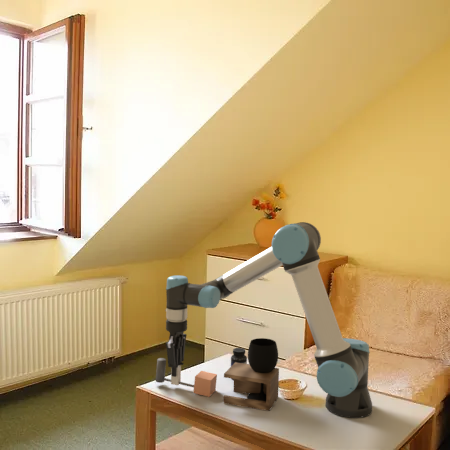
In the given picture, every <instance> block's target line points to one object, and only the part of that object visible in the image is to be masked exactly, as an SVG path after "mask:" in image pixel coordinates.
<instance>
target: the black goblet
mask: <svg viewBox="0 0 450 450" xmlns="http://www.w3.org/2000/svg"><path fill="white" fill-rule="evenodd" d="M278 360H279V350H278V344H277V341H276V340H274V339H272V338H271V339H270V338H264V337H262V338H259V337H258V338H254V339H251V340H250V343H249V346H248V349H247V363H248V364H250V366H251V368H252V369H253V370H254V371H255V372H258V373H269V372H271V371H272V370H273V369H274V368H277V364H278ZM246 399H252V400H259V401H265V402H266V394H264V383H261V390H260V393H250V394H247V396H246ZM277 399H278V398H277ZM277 399H276V400H275V403H276V402H277Z"/></svg>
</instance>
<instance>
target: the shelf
mask: <svg viewBox="0 0 450 450" xmlns="http://www.w3.org/2000/svg"><path fill="white" fill-rule="evenodd" d="M279 377H280V368H279V367H275V368H274V369H273V370H272V371H271V372H269V373H258V372H255V371H254V370H253V369H252V368H251V366H250V364H249V363H247V364H244V363H236V362H235V363H234V364H233V365H232V366H231V365H230V367H229V368H228V369H227V370H226V371H225V372H224V373H223V378H225V379H226V378H227V379H231V378H232V379H231V380H233V379H234V380H233V392H236V393H241V394H247V395H248V394H250V393H260V390H261V383H264V394H266V402H265V401H259V400H252V399H247V397H239V396H233V395H226V394H225V395H223V402H222V403H223V404H224V405H225V404H227V405H232V406H238V407H244V408H249V409H256V410H261V411H267V412H270V411H271V410H272V408H273V406H274V404H275V403H276V402H275V400H276V399H278V398H279V386H280V385H279V383H280V382H279V381H280V380H279V379H280V378H279ZM276 401H277V400H276Z"/></svg>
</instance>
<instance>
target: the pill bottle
mask: <svg viewBox="0 0 450 450" xmlns="http://www.w3.org/2000/svg"><path fill="white" fill-rule="evenodd" d="M245 354H246V349H245V348H242V347H235V348H233V349H232V355H231V356H230V367H231V366H232V365H233V364H234V363H235V362H236V363H244V364H248V356H247V355H245ZM230 379H231V380H233V381H234V379H232V378H230Z"/></svg>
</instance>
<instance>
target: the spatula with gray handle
mask: <svg viewBox="0 0 450 450" xmlns="http://www.w3.org/2000/svg"><path fill="white" fill-rule="evenodd" d="M166 365H167V359H166V358H164V357H159V358H157V359H156V371H155V372H156V373H155V382H156V383H162V384H163V383H164V382H165V381H166V382H168V383H169V382H170V383H171V378H166ZM217 377H218V374H217V373H213V372H209V371H205V370H200V372H198V373H197V374H196V375H195V376H194V381H193V382H194V384H190V383H187V382H183V381H181V382H179V385H182V386H185V387H190V388H193V394H196V395H201V396H204V397H208V398H210V397H211V396H212V395H213V394H214V393H215V392H216V389H217Z"/></svg>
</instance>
